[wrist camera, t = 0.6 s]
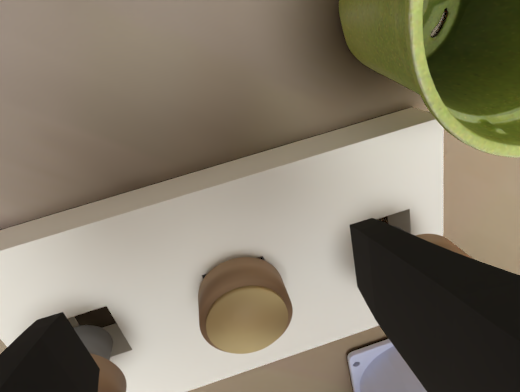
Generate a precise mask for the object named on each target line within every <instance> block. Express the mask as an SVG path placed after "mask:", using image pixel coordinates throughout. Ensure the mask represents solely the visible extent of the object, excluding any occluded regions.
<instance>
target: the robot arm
mask: <svg viewBox="0 0 520 392" xmlns="http://www.w3.org/2000/svg"><path fill="white" fill-rule="evenodd" d="M350 233H351V241H352V249H353V257H354V265H355V273H356V281H357V287H358V289H359V291H360V293H361V294H362V296H363V298H364V300H365V302H366V304H367V306H368V307H369V309H370V311H371V313H372V314H373V316H374V318H375V320H376V321H377V323H378V324H379V326H380V327H381V328H382V330H383V331H384V333H385V334H386V336H387V337H388V338H389V339H386V340H383V341H381V342H378V343H375V344H372V345H369V346H366V347H363V348H360V349H358V350H355V351H352V352H350V353H349V354H348V356H347V359H348V365H349V370H350V375H351V381H352V386H353V392H520V275H517V274H514V273H511V272H508V271H505V270H502V269H499V268H497V267H494V266H491V265H488V264H485V263H482V262H480V261H477V260H474V259H471V258H469V257H466V256H464V255H461V254H458V253H456V252H453V251H451V250H448V249H446V248H443V247H441V246H438V245H436V244H434V243H431V242H429V241H426V240H424V239H422V238H419V237H417V236H415V235H412V234H410V233H408V232H405V231H403V230H401V229H398V228H396V227H394V226H391V225H389V224H387V223H384V222H382V221H379V220H377V219H374V218H370V219H367V220H364V221H360V222H357V223H354V224H350ZM99 372H100V368H99V367H98V365H97V364H96V362H95V360H94V359H93V357H92V356H91V354H90V353H89V351H88V350H87V348H86V347H85V345H84V344H83V342H82V340H81V339H80V337H79V336H78V334H77V333H76V331H75V330H74V328H73V327H72V325H71V324H70V322H69V320H68V319H67V317H66V316H65V314H64V313H63V312H61V313H58V314H54V315H51V316H48V317H45V318H41V319H38V320H36V321H35V322H34V323H33V324H32V325H30V326H29V327H28V328H27V329H26V330H25V331H24V332H23V333H22V334H21V335H20V336H18V337H17V338H16V339H15V340H14V341H13V342H12V343H11V344H10V345H9V346H8V347H7V348H6V349H5V350H4V351H3V352H2V353H1V354H0V392H98V383H99Z"/></svg>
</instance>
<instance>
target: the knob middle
mask: <svg viewBox="0 0 520 392" xmlns="http://www.w3.org/2000/svg"><path fill="white" fill-rule="evenodd" d="M198 308H199V326H200V331H201V334H202V335H203V337H204V339H205V340H206V341H207V342H208V343H209V344H210V345H211V346H213V347H214V348H216V349H218V350H221V351H224V352H228V353H235V354H246V353H252V352H256V351H259V350H262V349H264V348H266V347H268V346H269V345H271V344H272V343H274V342H275V341H276V340H277V339H278V338H279V337H281V336H282V334H283V333H284V332H285V331H286V329H287V328H288V326H289V324H290V322H291V319H292V313H293V308H292V303H291V300H290V298H289V295H288V293H287V290H286V288H285V285H284V283H283V280H282V278H281V275H280V274H279V272H278V271H277V269H276V268H275V267H274V266H273V265H271V264H270V263H268V262H266V261H264V260H261V259H258V258H253V257H240V258H234V259H230V260H228V261H225V262H223V263H221V264H219V265H217V266H216V267H214V268H213V269H212V270H211V271H210V272H209V273H208V274H207V275H206V276H205V277H204V279H203V281H202V282H201V284H200V287H199V291H198Z"/></svg>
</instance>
